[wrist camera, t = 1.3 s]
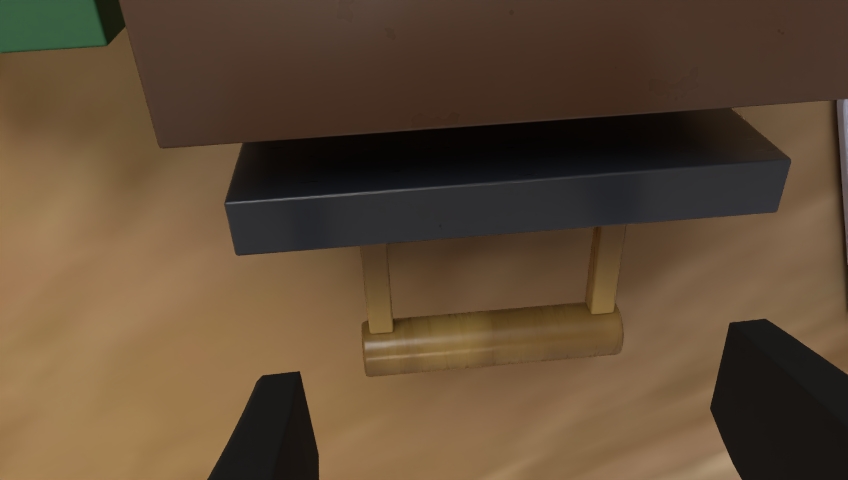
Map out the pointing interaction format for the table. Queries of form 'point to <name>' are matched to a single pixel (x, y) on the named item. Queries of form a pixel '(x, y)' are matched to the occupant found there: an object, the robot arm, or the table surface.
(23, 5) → the snack box
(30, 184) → the table surface
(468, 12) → the cabinet
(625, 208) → the drawer
